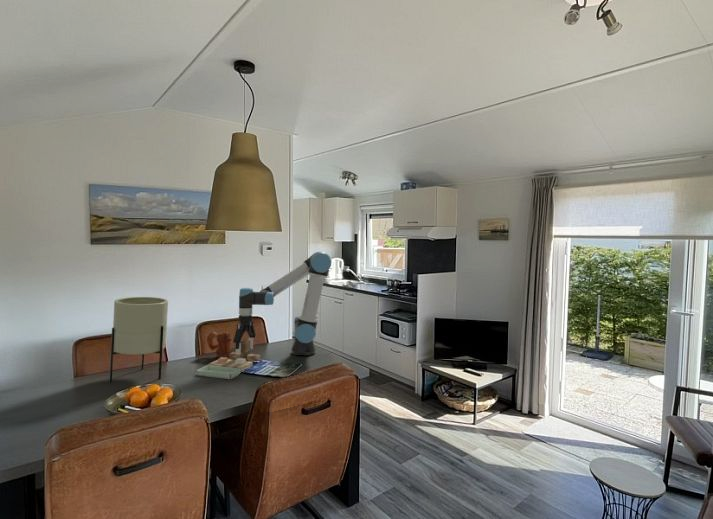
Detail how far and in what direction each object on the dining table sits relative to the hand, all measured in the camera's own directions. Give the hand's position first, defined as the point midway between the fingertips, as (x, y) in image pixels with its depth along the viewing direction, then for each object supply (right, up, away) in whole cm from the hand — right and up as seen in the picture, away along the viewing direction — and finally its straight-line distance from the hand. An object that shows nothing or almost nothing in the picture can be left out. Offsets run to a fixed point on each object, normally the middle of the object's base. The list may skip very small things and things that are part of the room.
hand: (244, 351), depth 228 cm
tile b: (-8, -3, -12) cm, 15 cm away
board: (-4, -6, -14) cm, 15 cm away
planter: (-43, -6, -30) cm, 53 cm away
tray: (-6, -6, -24) cm, 26 cm away
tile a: (+2, -3, -14) cm, 14 cm away
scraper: (0, -6, 0) cm, 6 cm away
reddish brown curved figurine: (-17, -5, +8) cm, 20 cm away
